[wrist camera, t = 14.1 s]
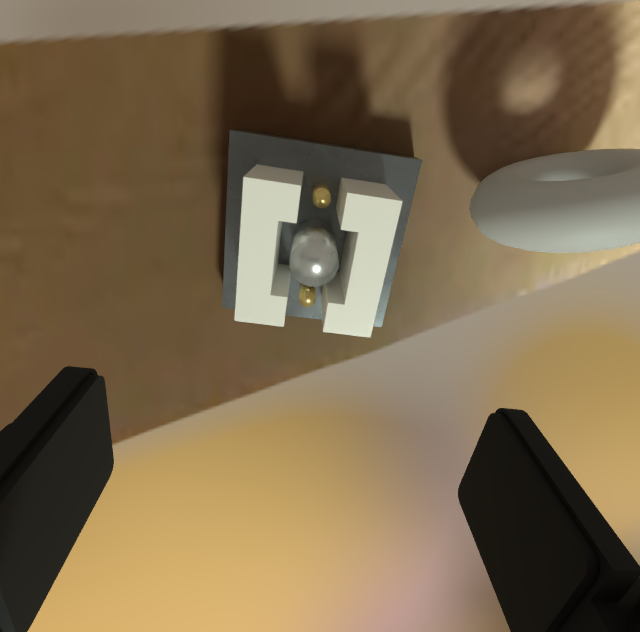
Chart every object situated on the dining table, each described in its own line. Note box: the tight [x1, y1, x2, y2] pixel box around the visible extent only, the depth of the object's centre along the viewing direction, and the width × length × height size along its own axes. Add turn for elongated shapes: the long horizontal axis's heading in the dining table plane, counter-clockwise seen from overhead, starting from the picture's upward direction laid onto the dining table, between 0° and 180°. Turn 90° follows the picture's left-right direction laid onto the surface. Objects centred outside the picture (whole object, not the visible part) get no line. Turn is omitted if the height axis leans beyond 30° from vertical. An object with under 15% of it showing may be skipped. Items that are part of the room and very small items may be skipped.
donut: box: [470, 149, 640, 253], centre depth 21 cm, size 10×4×10 cm, turn 101°
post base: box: [222, 129, 422, 327], centre depth 24 cm, size 11×11×6 cm
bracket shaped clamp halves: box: [235, 164, 403, 337], centre depth 23 cm, size 8×8×5 cm
